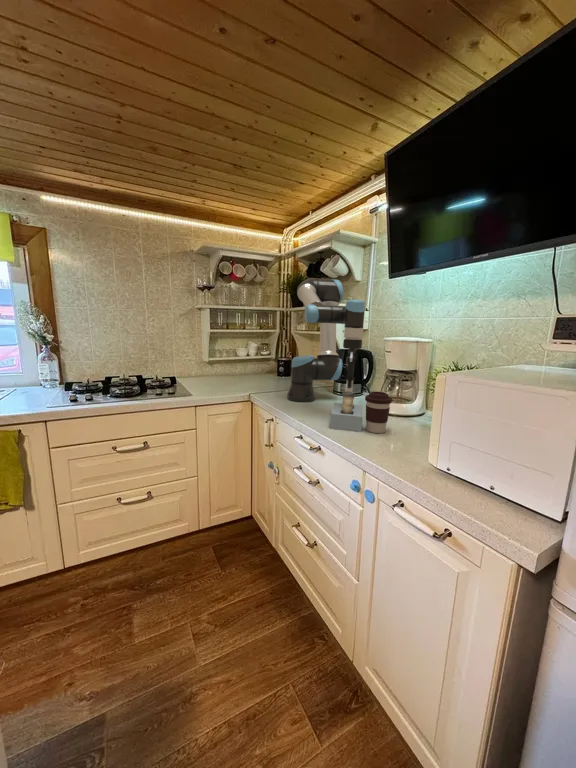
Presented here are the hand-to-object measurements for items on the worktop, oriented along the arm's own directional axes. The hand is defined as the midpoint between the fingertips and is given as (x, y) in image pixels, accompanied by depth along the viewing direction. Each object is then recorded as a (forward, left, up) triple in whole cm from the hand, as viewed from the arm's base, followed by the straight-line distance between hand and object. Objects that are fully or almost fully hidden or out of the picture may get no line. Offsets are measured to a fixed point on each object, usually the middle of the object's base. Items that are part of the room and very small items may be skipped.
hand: (348, 394), depth 135 cm
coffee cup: (+10, +11, -11) cm, 19 cm away
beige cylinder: (+9, 0, -6) cm, 11 cm away
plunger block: (+4, 0, -11) cm, 12 cm away
